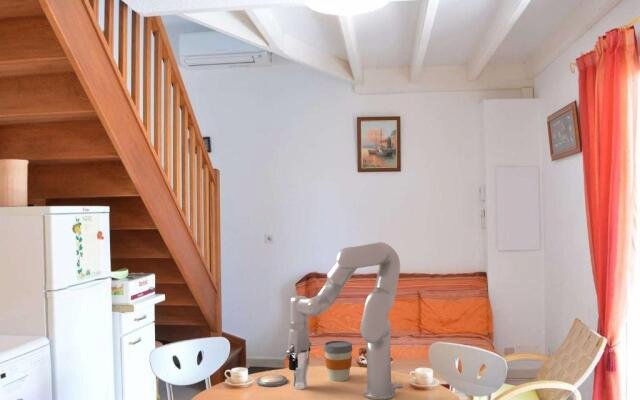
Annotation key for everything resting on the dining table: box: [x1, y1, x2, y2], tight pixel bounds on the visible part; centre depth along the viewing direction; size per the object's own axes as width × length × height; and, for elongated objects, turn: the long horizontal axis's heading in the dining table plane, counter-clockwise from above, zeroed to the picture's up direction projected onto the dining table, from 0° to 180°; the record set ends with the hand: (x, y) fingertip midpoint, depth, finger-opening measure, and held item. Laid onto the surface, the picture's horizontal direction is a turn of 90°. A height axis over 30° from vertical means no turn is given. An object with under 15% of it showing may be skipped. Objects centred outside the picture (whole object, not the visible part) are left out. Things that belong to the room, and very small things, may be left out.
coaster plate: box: [256, 374, 288, 388], centre depth 215 cm, size 13×13×2 cm
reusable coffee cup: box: [323, 340, 353, 382], centre depth 219 cm, size 13×13×15 cm
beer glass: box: [292, 350, 309, 390], centre depth 208 cm, size 7×7×15 cm
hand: (299, 367), depth 208 cm, fingers open, 9 cm apart
